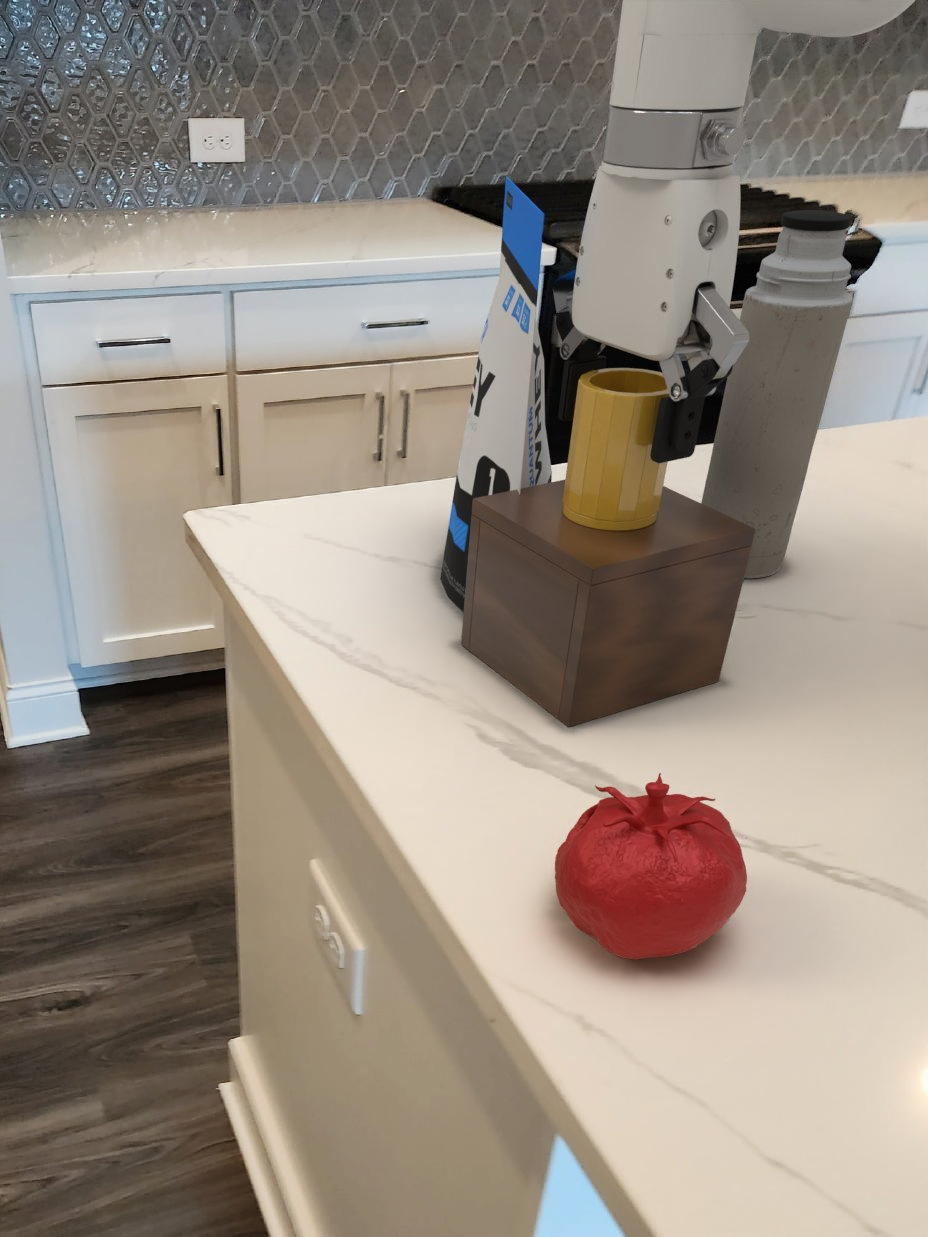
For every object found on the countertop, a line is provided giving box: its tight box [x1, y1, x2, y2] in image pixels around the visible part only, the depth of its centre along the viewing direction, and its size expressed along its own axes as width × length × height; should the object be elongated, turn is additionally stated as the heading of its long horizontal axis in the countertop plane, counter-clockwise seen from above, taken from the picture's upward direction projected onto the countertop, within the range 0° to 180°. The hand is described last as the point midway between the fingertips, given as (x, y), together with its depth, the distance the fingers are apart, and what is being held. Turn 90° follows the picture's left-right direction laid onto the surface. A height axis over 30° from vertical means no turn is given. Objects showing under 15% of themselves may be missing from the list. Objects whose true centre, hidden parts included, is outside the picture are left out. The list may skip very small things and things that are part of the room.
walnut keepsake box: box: [460, 479, 756, 727], centre depth 82 cm, size 14×14×12 cm
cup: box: [562, 367, 670, 531], centre depth 75 cm, size 7×7×9 cm
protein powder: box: [439, 176, 553, 614], centre depth 89 cm, size 10×24×30 cm, turn 177°
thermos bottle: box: [700, 209, 853, 579], centre depth 92 cm, size 8×8×28 cm
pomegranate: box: [554, 772, 748, 960], centre depth 59 cm, size 10×10×9 cm
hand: (622, 437), depth 75 cm, fingers open, 9 cm apart
